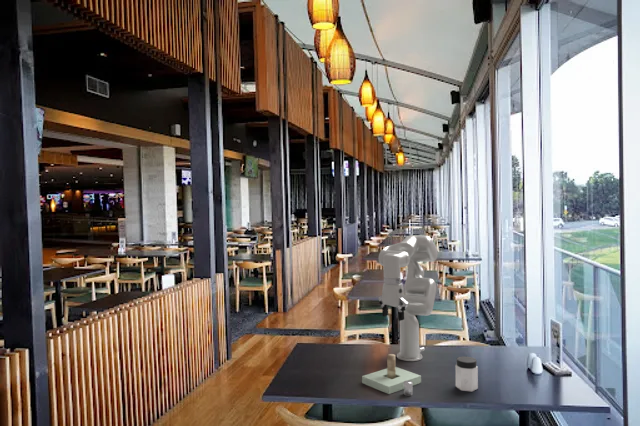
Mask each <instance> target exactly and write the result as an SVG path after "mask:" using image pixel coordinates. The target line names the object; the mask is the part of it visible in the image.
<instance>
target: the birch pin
mask: <svg viewBox="0 0 640 426" xmlns="http://www.w3.org/2000/svg"><path fill="white" fill-rule="evenodd" d="M386 356H387V357H386V362H387V363H386V364H387V365H386V369H387V378H390V379H394V378H396V368H395V367H396V354H393V353H388V354H387V355H386Z"/></svg>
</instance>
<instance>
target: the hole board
mask: <svg viewBox="0 0 640 426" xmlns="http://www.w3.org/2000/svg"><path fill="white" fill-rule="evenodd" d="M395 368H396V378H394V379H390V378H387V368H384V369H381V370H377V371H375V372H371V373H368V374H364V375H361V383H362V384H364V385H366V386H368V387H370V388H372V389H375V390H378V391H380V392H383V393H385V394H387V395H391V394H394V393H396V392H399V391H401V390H404V381H412V382H413V386H416V385H418V384H421V383H422V375H420V374H418V373H414V372H411V371H409V370H406V369H403V368H400V367H397V366H395Z"/></svg>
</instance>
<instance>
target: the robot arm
mask: <svg viewBox="0 0 640 426" xmlns="http://www.w3.org/2000/svg"><path fill="white" fill-rule="evenodd" d="M438 252H439V251H438V248H437V246H436V244H435V243H434V240H433V239H432V238H431V237H430V236H429V235H425V234H424V235H420V234H419V235H417V234H416V235H414V234H412V235H411V234H410V235H407V236H406V237H405V238H404V239H403V240H402V241H400V242H397V243H394V244H391V245H387V246H385V247H383V249H381V251H380V252H379V254H378V262H379V264H380V266H381V267H383V284H382V290H381V295H380V296H378V297H377V299H378V301H379V304H380V308H381V311H382V313H381V315H382V317H387V316H389V307H394V308H397V310H398V312H397V317H398V321H399V352H397V354H396V358H397V359H398V360H401V361H405V362H418V361H421V360H422V359H423V355H422V352H424V351H425V350H426V349H425V347H424V346H422V347H420V325H419V320H418V319H417V317H416V316H426V317H427V316H430V315H431V314H432V313H433V310H434V305H435V299H436V296H437V295H436V293H437V283H436V281H435V280H434V278H430V277H425V269H423V266H422V265H420V263H419V262H426V263H427V262H429V263H433V262H435V261H436V260H437V259H438ZM406 267H407V274H406V278H405V283H404V286H403V284H402V281H403V280H402V279H401V268H406ZM403 287H404V288H403ZM404 292H405V294H404ZM388 306H389V307H388Z"/></svg>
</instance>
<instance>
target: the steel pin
mask: <svg viewBox="0 0 640 426" xmlns="http://www.w3.org/2000/svg"><path fill="white" fill-rule="evenodd" d="M413 386H414V385H413V382H412V381H404V389H403V395H404V396H407V397H412V396H413V395H414V393H413V392H414V391H413V389H414V387H413Z"/></svg>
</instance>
